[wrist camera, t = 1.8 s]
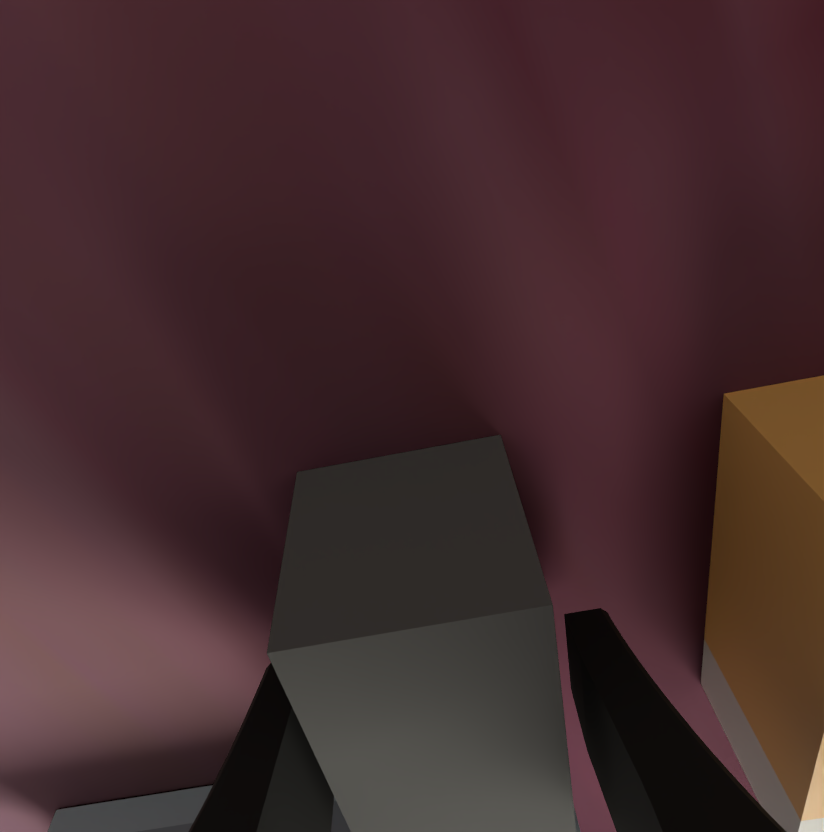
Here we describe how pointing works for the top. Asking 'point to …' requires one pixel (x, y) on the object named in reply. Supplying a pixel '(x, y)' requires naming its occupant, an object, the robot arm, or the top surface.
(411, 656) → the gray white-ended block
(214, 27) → the top surface
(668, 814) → the robot arm
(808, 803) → the tall orange block
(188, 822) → the slot board
